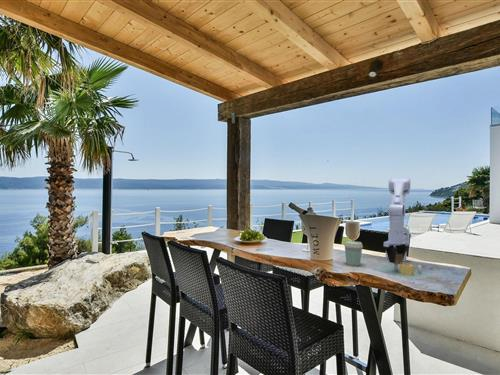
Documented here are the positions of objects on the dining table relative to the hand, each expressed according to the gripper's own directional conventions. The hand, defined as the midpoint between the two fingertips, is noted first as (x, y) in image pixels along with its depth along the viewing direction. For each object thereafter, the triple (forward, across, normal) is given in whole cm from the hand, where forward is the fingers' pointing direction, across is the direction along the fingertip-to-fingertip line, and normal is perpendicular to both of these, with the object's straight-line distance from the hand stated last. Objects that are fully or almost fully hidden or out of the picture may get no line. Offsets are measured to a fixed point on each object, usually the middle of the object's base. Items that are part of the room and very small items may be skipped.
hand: (395, 261), depth 135 cm
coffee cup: (+6, -8, +17) cm, 20 cm away
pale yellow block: (+4, 0, -5) cm, 7 cm away
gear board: (+6, +2, -1) cm, 6 cm away
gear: (0, 0, 0) cm, 0 cm away
